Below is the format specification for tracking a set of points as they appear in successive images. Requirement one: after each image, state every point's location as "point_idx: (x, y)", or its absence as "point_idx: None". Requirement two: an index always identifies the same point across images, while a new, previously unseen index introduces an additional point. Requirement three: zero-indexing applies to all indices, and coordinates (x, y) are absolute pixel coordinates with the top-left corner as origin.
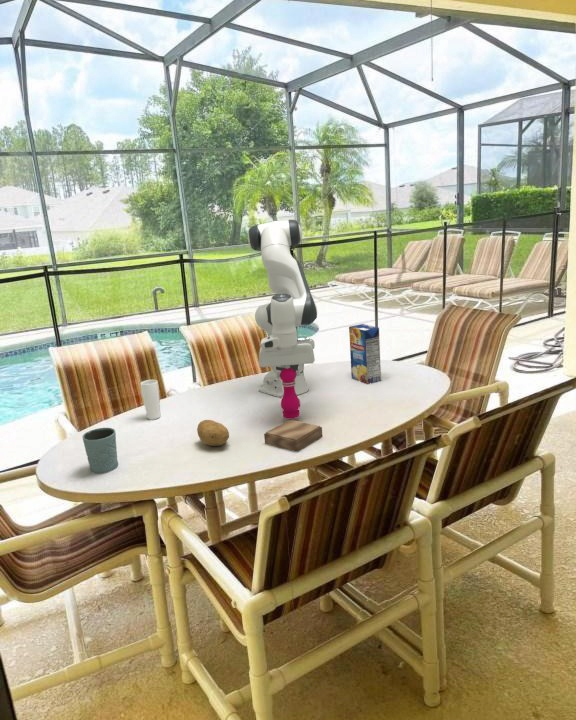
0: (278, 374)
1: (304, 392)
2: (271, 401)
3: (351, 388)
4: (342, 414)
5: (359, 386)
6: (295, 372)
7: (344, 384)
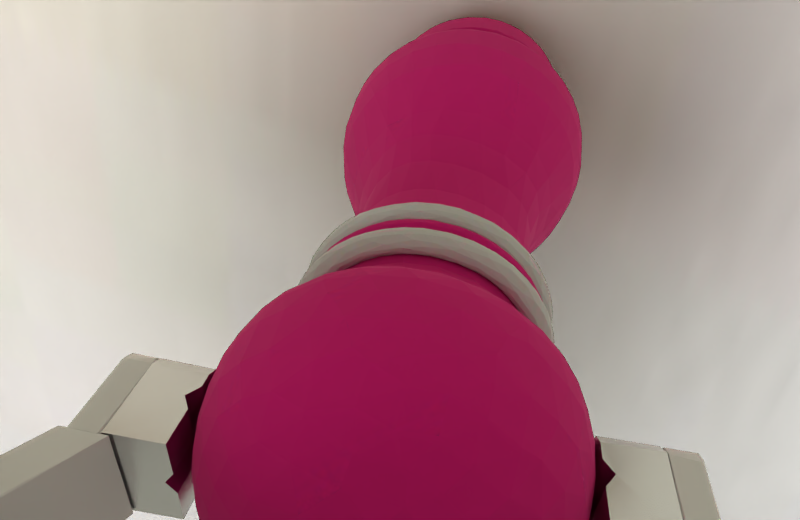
0: (644, 504)
1: None
2: None
3: None
4: (39, 72)
5: None
6: (193, 445)
7: None
